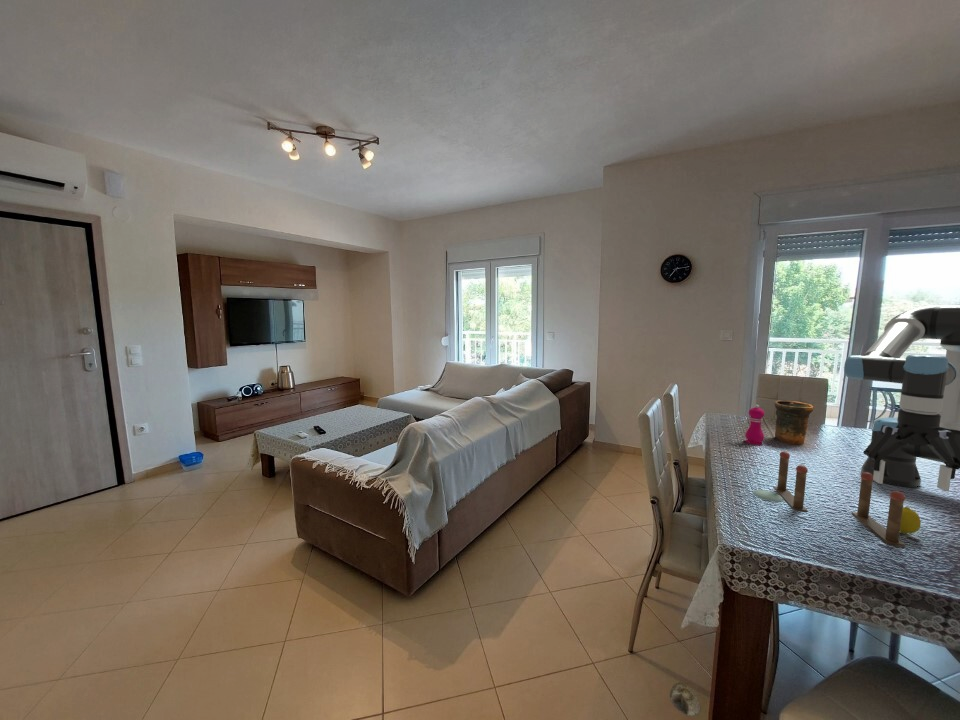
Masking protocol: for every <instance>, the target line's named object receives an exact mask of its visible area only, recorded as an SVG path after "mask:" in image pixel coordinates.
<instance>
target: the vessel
mask: <svg viewBox="0 0 960 720" xmlns="http://www.w3.org/2000/svg"><path fill="white" fill-rule="evenodd" d="M774 406H775V410H776V411H775V415H776V419H775V431H774V439H775V440H776V441H777V442H781V443H785V444H787V445H788V444H790V445H800V446H801V445H804V444H805V439H806V435H807V431H808V427H809V425H808V423H809V418H810V414H811V413H812V412H813V411H814V406H813V405H812V404H809V403H805V402H801V401H794V400H776V401H775V402H774Z"/></svg>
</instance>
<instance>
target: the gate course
mask: <svg viewBox="0 0 960 720" xmlns="http://www.w3.org/2000/svg"><path fill="white" fill-rule="evenodd" d="M790 457H791V454H790V453H789V452H788V451H780V453H779V465H778V477H777V485H776V486H773V489H774V490H776V492H777V494H778V495H780V496H781V497H782V498H783V500H784V501H785V502H786V503H787V504H788V505H789V507H790V508H791V509H792V510H793V511H799V512H805V513H808V510H807V508H806V507H805V506H804V504H805V503H804V502H805V493H806V492H805V491H806V483H807V482H806V481H807V474H808V467H806V466H805V465H803V464H799V465H797V466H796V467H795V471H796V475H795V483H794V484H795V485H794V493H791V492H790V490H788V489H787V484H788V473H789V472H788V471H789V462H790ZM860 478H861V479H860V488H859V497H858V504H857V505H858V506H857V512H855V511H854V512H853V511H852V512H851V515H852V516H853V517H854V518H856V519H857V520H858V521H859V522H860V523H862V524H863V525H864V526H865V527H866V528H867V529H868V530H869V531H870V532H872V534H874V535H875V536H876V537H878V539H880V540H881V541H882V542H883V543H885V544H886V545H888V546H895V547H900V548H905V547H906V544H905V543H904V542H903V541H902V540H900V532H901V531H900V526H901V518H902V511H903V507H904V501H905V500H906V495H905V494H904V493H903V492H902V491H900V490H899V491H898V490H893V491H891V492H890V493H889V507H888V514H887V522H886V527H884V526H882V525H881V524H880V523H879V522H878V521H876V520H875V519H873V517H871V516H870V508H871V499H872V490H873V481H874V480H873V475H872V474H871V473H868V472H864V473H862V474H861V473H860Z"/></svg>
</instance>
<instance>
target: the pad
mask: <svg viewBox="0 0 960 720" xmlns="http://www.w3.org/2000/svg"><path fill="white" fill-rule="evenodd" d="M753 494H754V495H755V496H756V497H758V498H760V499H762V500H766V501H769V502H779V503H780V502H783V500H784V499H783V497H782V496H781V495H780V494H779V493H775V492H773V491H769V490H763V489H756V490H753Z"/></svg>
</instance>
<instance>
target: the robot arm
mask: <svg viewBox="0 0 960 720" xmlns="http://www.w3.org/2000/svg"><path fill="white" fill-rule="evenodd" d="M883 329H884V332H883V333H882V334H881V335H880V336H879V337H878V338H877V339H876V341H874V343H872V345H871V346H870V347H869V348H868V350H866V352H865V353H863V354H862V355H860V354H857V355H856V354H855V355H849V356H847V358H846V359H845V362H844V366H843V372H844V375H845V376H846V377H847V378H848V379H854V380H861V381H874V382H882V383H883V382H884V383H894V384H901V391H900V397H899V408H900V409H899V410H898V413H897V417H879V418H877V419H875V420H874V422H873V426H872V429H871V431H872V432H871V437H870V438H871V439H870V444H869V445H868V446H867V447H866V448H865V449H864V451H863V452H862V454H863V455H865V456H866V457H867V458H866V459H865V461H864V463H863V464H862V465H861V469H860V475H861V474H862V473H864V472H868V473H871V474H872V475H873V481H874V482H876V483H878V484H881V485H883V484H888V485H891V486H896V487H897V486H898V487H904V488H905V487H906V488H917V486H918V487H920V486H921V482H922V479H921V475H920V473H919V469H918V466H917V458H919V459H924V460H929V461H933V462H939V463H943V464H940V465H939V470H938V471H939V472H938V477H937V483H936V484H937V485H936V487H937V489H940V490H942V491H944V492H948V493H949V491H950V486H951V480H954V479H955V477H956V470H960V304H940V305H939V304H938V305H937V304H936V305H935V304H934V305H932V304H931V305H924V306H923V305H922V306H919V307H915V308H912V309H909V310H906V311H904V312H901V313H899V314H898V315H896V316H894V317H893V318H891V319H890V320H889V321H888V322H887V323H886V325H885V326H884V327H883ZM924 339H925V340H927V339H929V340H940V343H939V345H940V346H941V347H943V349H945V350H946V351H945V356H944V355H939V354H938V355H937V354H936V355H934V354H920V353H919V354H908V355H907V356H906V357H905V358H901V357H902V356H903V355H904V354H905V352H906V351H907V350H908V348H909V347H910V346H911V345H912V344H913V343H914V342H917V341H919V340H924Z"/></svg>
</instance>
